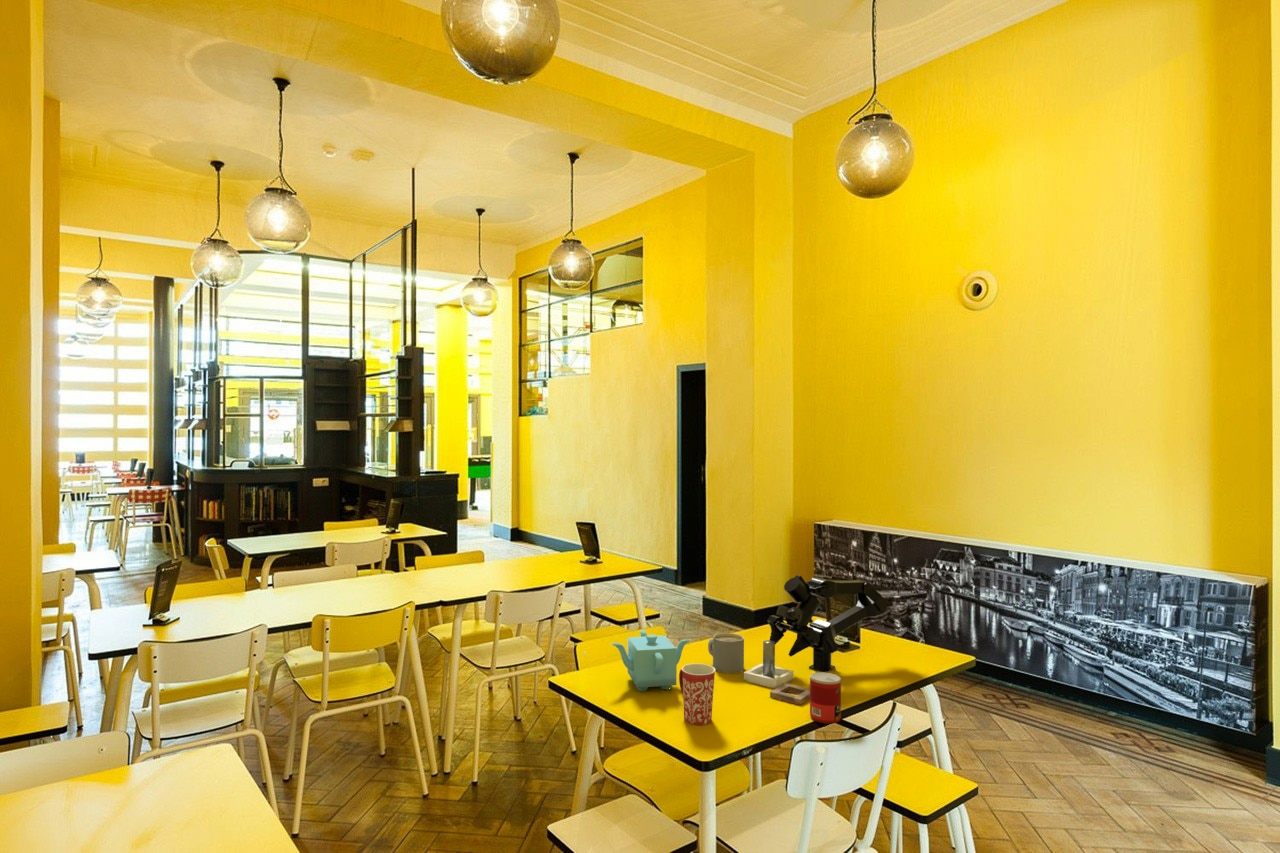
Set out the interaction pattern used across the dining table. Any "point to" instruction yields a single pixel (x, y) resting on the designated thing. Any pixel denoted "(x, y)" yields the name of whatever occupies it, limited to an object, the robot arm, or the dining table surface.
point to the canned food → (825, 697)
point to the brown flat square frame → (782, 694)
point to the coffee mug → (727, 652)
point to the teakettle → (651, 660)
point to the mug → (697, 692)
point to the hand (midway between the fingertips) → (779, 651)
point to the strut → (769, 658)
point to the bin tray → (757, 677)
